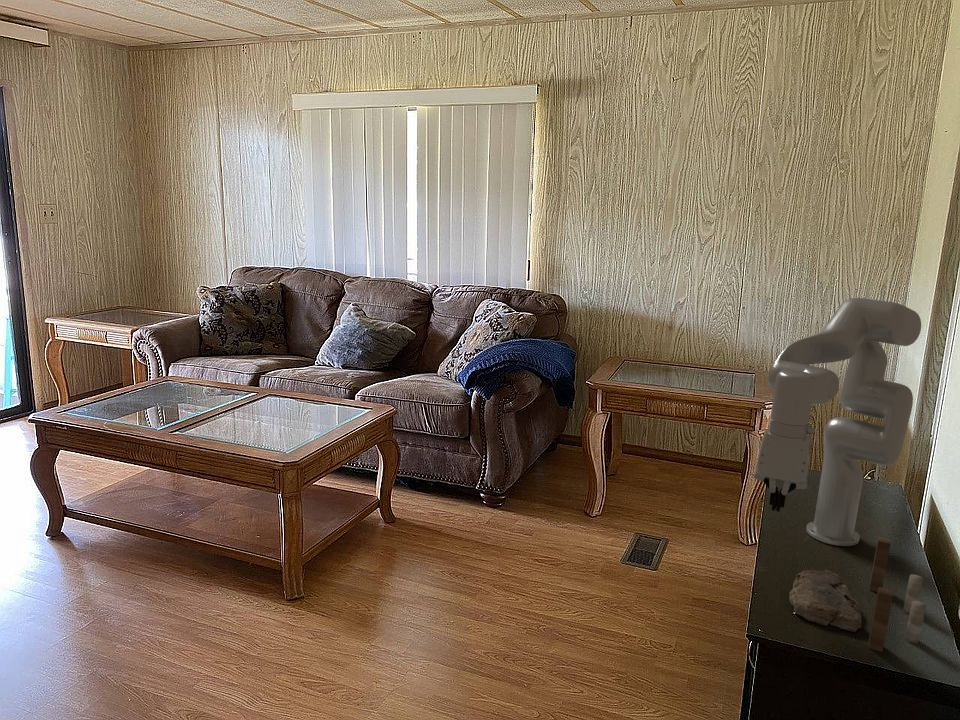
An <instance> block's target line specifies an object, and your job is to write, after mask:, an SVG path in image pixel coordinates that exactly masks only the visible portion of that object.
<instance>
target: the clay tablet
mask: <svg viewBox="0 0 960 720" xmlns="http://www.w3.org/2000/svg"><path fill="white" fill-rule="evenodd" d="M788 593H789V595H788V596H789V597H788V599H789V602H790V604H791V606H792V607H793V612H795V613H796V614H797V615H799V616H801V617H802V618H804V619H806V620H807V621H809V622H811V621H812V623H815V622H816V624H819V625H822V626H827V627H828V625H830V626H832V627H836V628H839V629H840V630H844V631H847V632H848V631H849V632H853V633H856V632H857V631H858V629H861V628H862V623H863V621H862V612H861V610H860V602H858V601H857V600H856V599H855V598H854V596H852V595H851V594H850V589H849V588H848V585H847V584H846V583H845V581H844V580H843V578H841V576H840V575H839V574H837V573H836V572H834V571H831V570H828V569H809V568H807V569H804V570H802V571H800V572H799V573H797V574H796V575H795V580H794V581H793V584H792V589H791V590H790V591H789V592H788Z"/></svg>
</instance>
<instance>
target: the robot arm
mask: <svg viewBox="0 0 960 720" xmlns="http://www.w3.org/2000/svg"><path fill="white" fill-rule="evenodd" d="M921 331H922V319H921V316H920V315H919V313H918V312H916V311H915V310H914V309H911V308H909V307H907V306H905V305H903V304H901V303H898V302H893V301H887V300H880V299H879V300H878V299H873V298H864V297H852V298H849V299H847V300H845V301H843V302H842V303H841V304H840V305H839V307H838V308H837V309H836V311H834V313H833V315H832V316H831V317H830V319H829V320H828V322H827V323H826V324H825V325H824V327H823V328H822V330H821V331H820V332H817V333H814V334H811V335H809V336H806V337H803V338H800V339H797V340H796V341H794V342H792V343H790V344H788V345H787V346H785V347H784V348H783V349H782V351H781V352H780V353H779V354H778V355H777V357H776V358H775V360H774V361H773V363H772V365H771V366H770V368H769V371H768V372H767V373H768V374H767V379H766V381H767V387H769V389H770V390H771V391H772V392H773V395H772V396H773V398H772V404H771V412H770V417H769V425H768V428H767V429H765V430H764V433H763V436H762V438H761V443H760V446H759V450H758V451H759V452H758V456H757V461H756V469H755V470H756V471H755V473H754V475H753V478H754V479H755V480H757V481H759V482H761V483H763V484H765V486H766V487H767V488H768V490H769V492H770V497H769V503H768V505H770V506H771V511H772V512H774V511H776V512H778V513H780V511H781V508H782V509H784V508H785V504H786V497H787V495H788V494H789V493H791V492H793V491H794V490H806V489H807V488H808V480H807V479H808V478H807V477H808V474H809V470H810V462H811V461H810V460H811V450H812V449H811V447H812V446H811V445H812V444H811V437H810V436H809V435H811V434H812V435H815V432H816V427H813V426H812V425H811V426H810V424H809V423H810V422H809V421H810V415H811V414H810V413H811V411H812V410H811V409H812V405H814V404H816V405H817V404H818V405H819V404H820V405H821V404H825V403H826V404H827V403H829V402H830V401H832V400H833V399H834V398H835V397H836V396H837V394H838V393H839V390H840V379H839V377H838V375H837V374H836V373H835V372H834V371H832V370H831V369H827V368H823V367H819V366H814V365H817V364H830V363H836V362H842V361H847V360H848V361H847V362H848V363H847V366H846V367H847V368H846V371H845V375H844V379H843V383H842V387H841V391H840V397H839V404H840V406H841V408H842V409H843V410H845V411H847V412H850V413H852V414H857V415H861V416H865V417H869V418H874V419H878V420H881V421H883V424H884V425H880V424H877V423H873V422H868V421H865V420H861V419H856V418H852V417H847V416H836V417H833V418H831V419H829V420H828V421H827V423H826V424H825V426H824V429H823V461H822V463H823V464H822V469H821V476H820V480H819V488H818V494H817V499H816V500H817V501H816V506H815V507H816V508H815V514H814V519H813V521H811V522H808V523H807V524H806V528H805V530H806V533H807V534H808V535H809V536H810V537H811V538H813V539H815V540H817V541H819V542H821V543H824V544H829V545H833V546H838V547H852V546H856V545H857V544H859V542H860V538H861V536H860V534H859V533H858V532H857V531H856V530H855V527H856V522H857V516H858V511H859V505H860V499H861V494H862V489H863V487H862V486H863V482H864V471H863V468H862V466H861V463H860V461H862V462H866V463H869V464H874V465H876V466H877V465H879V466H881V467H892V466H893V465H894V466H895V464H896V463H897V462H898V461H899V458H900V455H901V453H902V450H903V447H904V441H905V437H906V434H907V430H908V426H909V423H910V419H911V414H912V410H913V406H914V405H913V403H914V397H913V396H914V395H913V392H912V390H911V388H910V387H909V386H907V385H905V384H903V383H898V382H894V381H888V380H885V374H886V371H887V366H888V356H887V353H886V351H885V350H884V348H883V346H882V345H881V343H882V344H883V343H884V344H889V345H894V346H902V347H908V346H911V345H913V344H914V343H915V342H916V341H917V340H918V338H919V336H920V334H921ZM778 481H781V482H783V485H782V487H780V490H779V487H778Z"/></svg>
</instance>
